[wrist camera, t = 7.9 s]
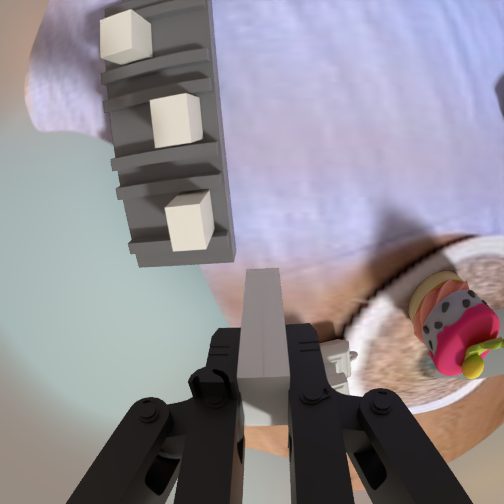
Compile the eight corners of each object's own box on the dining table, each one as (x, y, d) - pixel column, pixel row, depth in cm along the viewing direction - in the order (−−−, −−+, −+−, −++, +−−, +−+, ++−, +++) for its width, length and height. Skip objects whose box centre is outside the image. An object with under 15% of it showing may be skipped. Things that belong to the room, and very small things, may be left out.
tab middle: (168, 103, 24) (149, 100, 20) (199, 97, 24) (186, 93, 20) (172, 143, 26) (155, 148, 21) (203, 138, 26) (191, 142, 21)
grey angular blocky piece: (352, 327, 39) (368, 370, 31) (355, 358, 41) (368, 400, 34) (290, 342, 40) (294, 388, 32) (298, 371, 43) (303, 415, 35)
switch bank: (115, 16, 22) (96, 6, 18) (211, -8, 21) (203, -25, 17) (146, 256, 35) (132, 274, 31) (236, 250, 34) (232, 268, 30)
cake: (453, 322, 38) (496, 386, 25) (399, 333, 39) (437, 409, 26) (470, 265, 34) (529, 325, 20) (412, 272, 35) (469, 347, 21)
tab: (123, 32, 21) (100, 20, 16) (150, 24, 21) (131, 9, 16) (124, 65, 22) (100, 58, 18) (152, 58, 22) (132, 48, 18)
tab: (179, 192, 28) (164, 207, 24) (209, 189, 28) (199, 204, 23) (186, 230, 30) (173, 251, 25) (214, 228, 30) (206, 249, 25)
